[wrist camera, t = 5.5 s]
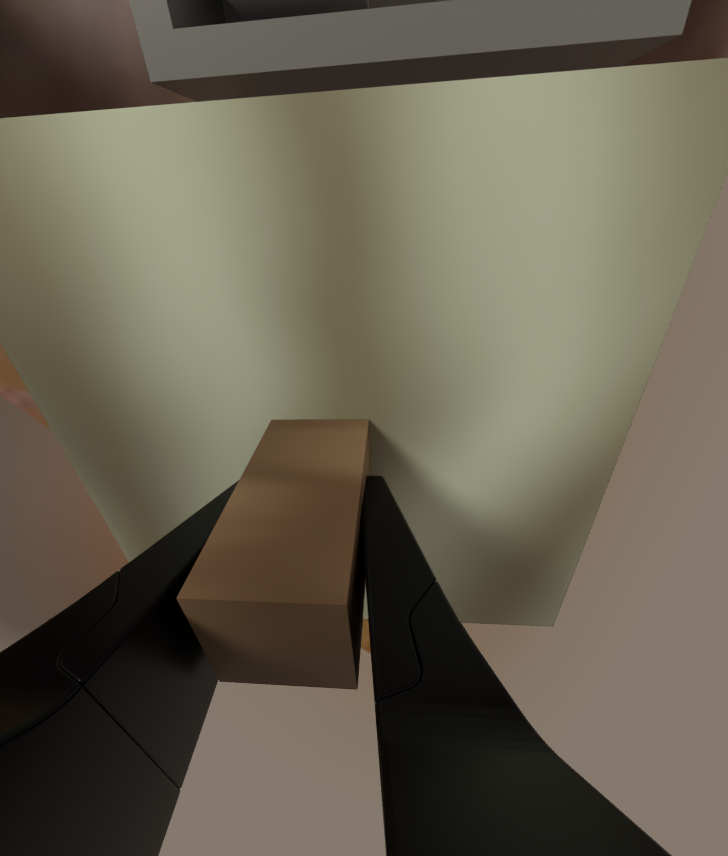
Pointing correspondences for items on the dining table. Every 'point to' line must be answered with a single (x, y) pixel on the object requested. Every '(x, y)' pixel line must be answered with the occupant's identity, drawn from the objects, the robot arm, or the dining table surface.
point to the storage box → (386, 41)
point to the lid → (357, 328)
